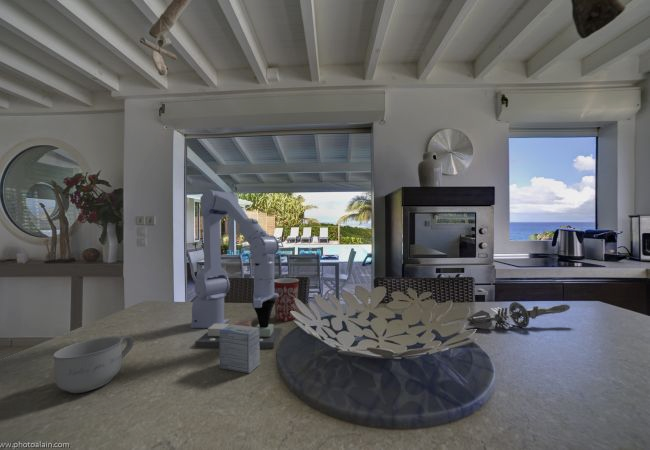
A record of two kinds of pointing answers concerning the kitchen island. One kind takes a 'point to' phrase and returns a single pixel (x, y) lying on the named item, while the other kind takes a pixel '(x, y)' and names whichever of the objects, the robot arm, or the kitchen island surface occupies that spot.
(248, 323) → the terracotta key
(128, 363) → the kitchen island surface
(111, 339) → the teacup
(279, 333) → the keypad
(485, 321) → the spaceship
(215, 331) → the ivory key
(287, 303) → the mug
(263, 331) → the sage key
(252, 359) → the grey layered block
